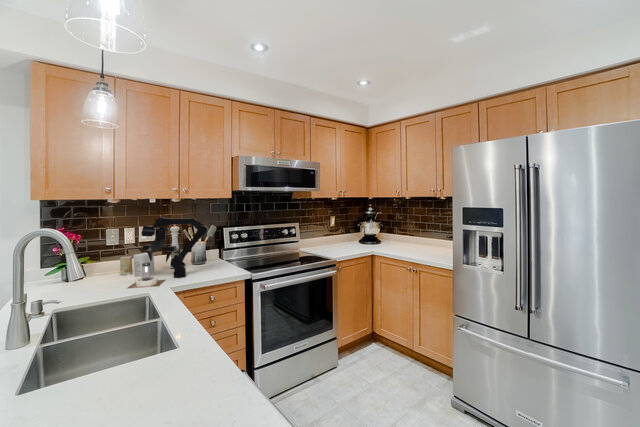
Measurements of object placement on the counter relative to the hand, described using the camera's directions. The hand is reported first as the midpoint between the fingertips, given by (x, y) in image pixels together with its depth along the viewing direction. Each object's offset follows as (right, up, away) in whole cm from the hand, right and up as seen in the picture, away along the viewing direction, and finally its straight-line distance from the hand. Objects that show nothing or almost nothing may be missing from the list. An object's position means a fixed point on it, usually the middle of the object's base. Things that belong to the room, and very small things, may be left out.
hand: (158, 261), depth 185 cm
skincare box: (-32, -12, +17) cm, 38 cm away
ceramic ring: (-1, -12, -11) cm, 16 cm away
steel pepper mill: (-1, -12, -11) cm, 16 cm away
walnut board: (-1, -13, -11) cm, 17 cm away
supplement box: (-17, -12, +12) cm, 24 cm away
